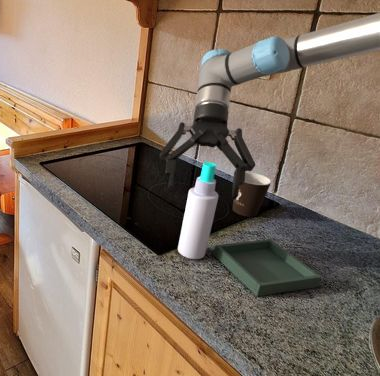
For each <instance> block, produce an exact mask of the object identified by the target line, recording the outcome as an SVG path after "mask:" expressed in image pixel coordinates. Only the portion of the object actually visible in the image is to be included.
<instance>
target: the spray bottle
mask: <svg viewBox="0 0 380 376" xmlns="http://www.w3.org/2000/svg"><path fill="white" fill-rule="evenodd" d="M216 167H217V164H216V163H214V162H211V161H205V162H204V161H203V164H202V169H201V173H200V176H198V177H196V181H195V185H194V186H193V187H191V188H190V189H189V190H188V193H187V200H186V204H185V211H184V214H183V218H182V219H183V220H182V225H181V229H180V235H179V240H178V245H177V251H178V253H179V254H180V255H181V256H183V257H184V258H186V259H190V260H201V259H202V258H204V257H205V256H206V253H207V249H208V244H209V241H210V235H211V231H212V226H213V223H214V218H215V214H216V213H215V212H216V209H217V204H218V200H219V193H218V192H217V191H216V184H217V180H216V179H215V172H216Z"/></svg>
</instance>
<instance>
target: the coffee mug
mask: <svg viewBox="0 0 380 376" xmlns="http://www.w3.org/2000/svg"><path fill="white" fill-rule="evenodd" d="M271 184H272V180H271V178H269V177H268V176H266V175H263V174H260V173H256V172H252V171H245V181H244V183H243V184H242V185H239V193H238V197H237V198H236V199H235V200H233V202H232V211H233V212H234V213H236V214H237V215H239V216H242V217H249V218H253V217H257V216H258V214H259V212H260V209H261V207H262V205H263V203H264V200H265V198H266V196H267V193H268V191H269V188H270V187H271Z"/></svg>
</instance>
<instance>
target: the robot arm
mask: <svg viewBox="0 0 380 376" xmlns="http://www.w3.org/2000/svg"><path fill="white" fill-rule="evenodd" d="M375 52H376V53H377V52H380V12H378V13H374V14H370V15H367V16H363V17H360V18H356V19H353V20H349V21H345V22H342V23H339V24H334V25H331V26H327V27H323V28H320V29H317V30H314V31H310V32H307V33H304V34H300V35H296V36H292V37H288V38H284V39H282V37H281V36H277V35H274V36H271V37H268V38H265V39H261V40H259V41H258V42H256V43H252V44H251V45H248V46H245V47H243V48H241V49H238V50H236V51H233V52H231V51H230V50H229V49H226V48H219V49H211V50H208V52H206V53H205V54H204V55H203V56H202V59H201V63H200V67H199V71H198V85H197V86H198V87H197V92H196V99H195V106H194V113H193V121H192V124H191V125H187V124H186V123H185V122H180V123H179V125H178V129H177V130H176V132H175V133H174V134H173V136H172V137H171V138H170V139H169V141H168V142H167V143H166V144H165V146H164V147H163V148H162V149H161V151H160V153H159V159H160V160H161V161H165V162H166V165H165V176H169V181H168V187H167V191H172V190H173V187H174V186H173V185H174V178H175V171H176V164H177V159H179V158H180V157H181V156H182V155H183V154H185V153H186V152H187V151H189V150H190V149H192V148H193V147H195V146H196V145H199V146H200V147H208V148H215V147H216V148H217V149H218V150H219V151H221V152H222V153H223V155H224V156H225V157H226V158H227V159H228V161H229V162H230V163H231V164H232V166H233V167H234V168H235V170H234V172H233V180H232V190H231V200H233V201H234V200H235V199H236V198H237V197H238V193H239V185H242V184H243V183H244V181H245V172H252V171H253V170H254V168H255V167H256V163H255V160H254V158H253V156H252V154H251V152H250V150H249V148H248V146H247V143H246V142H245V139H244V138H243V129H242V128H236V130H235V129H234V130H233V129H231V130H229V128H228V122H229V111H230V110H229V109H230V104H231V103H230V100H231V93H232V88H233V87H235V86H238V85H241V84H243V83H246V82H250V81H253V80H257V79H259V78H260V79H261V78H264V77H267V76H268V77H269V76H272V75H276V74H282V73H288V72H291V71H296V70H300V69H303V68H308V67H312V66H317V65H321V64H326V63H330V62H335V61H339V60H345V59H348V58H353V57H357V56H362V55H366V54H371V53H375ZM187 133H189V134H190V135H191V136H190V137H189V138H188V140H187V139H186V141H185V142H183V143H182V144H181V145H179V146H178V147H177V148H176V149H174V147H175V146H176V145H177V143H178V142H179V141H180V140H181V138H182V136H184V135H186V134H187ZM228 137H230V140H231V141H234V146H235V148H236V151H237V152H238V153H237V152H236V151H235V149H233V147H232V146H231V145H230V144H229V141H228V140H227V138H228ZM173 149H174V150H173ZM172 150H173V151H172Z"/></svg>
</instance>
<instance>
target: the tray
mask: <svg viewBox="0 0 380 376" xmlns="http://www.w3.org/2000/svg"><path fill="white" fill-rule="evenodd" d="M213 256H214V257H215V258H216V259H217V260H218V261H220V263H221V264H223V266H225V268H226V269H228V270H229V271H230V272H231V273H232V274H233V275H234V276H235V277H236V278H237V279H238V280H239V281H240V282H241V283H242V284H243V285H244V286H245V287H246V288H248V289H249V290H250V291H251V292H252V293H253V294H254V295H255V296H256V297H261V296H268V295H273V294H282V293H287V292H294V291H301V290H307V289H314V288H315V289H316V288H319V285H320V282H321V280H322V276H321V275H320V274H318V272H316V271H314V270H313V269H312V268H311V267H309V266H308V265H306V264H305V263H304V262H303V261H301V260H300V259H298V258H297V257H296V256H295V255H293V254H291V252H289V251H288V250H286V249H285V248H284V247H282V246H281V245H280V244H279V243H277V242H276V241H274V240H273V239H271V238H266V239H257V240H248V241H241V242H232V243H223V244H216V245H215V247H214V251H213Z"/></svg>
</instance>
